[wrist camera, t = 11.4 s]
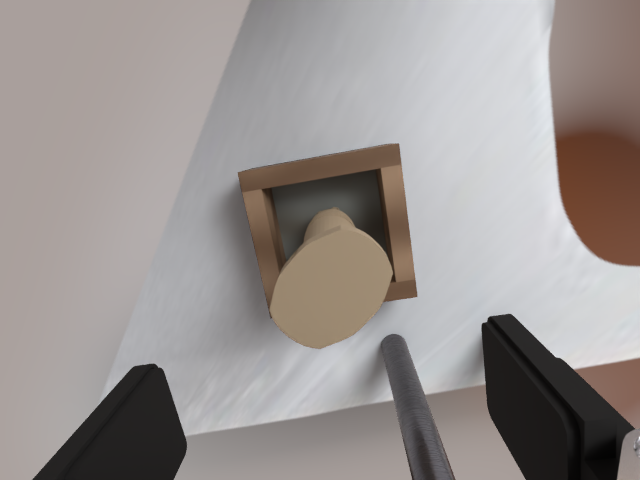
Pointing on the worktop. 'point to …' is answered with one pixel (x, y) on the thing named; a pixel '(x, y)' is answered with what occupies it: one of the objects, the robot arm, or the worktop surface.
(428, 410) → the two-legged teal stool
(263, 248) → the socket
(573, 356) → the worktop surface
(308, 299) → the handle
